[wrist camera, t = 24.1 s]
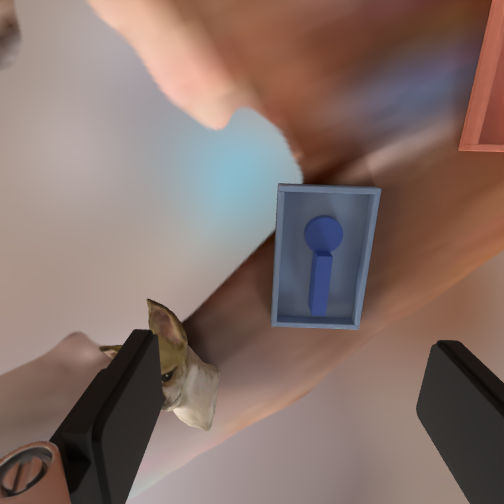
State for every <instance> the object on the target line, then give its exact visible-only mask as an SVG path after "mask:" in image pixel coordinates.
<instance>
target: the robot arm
mask: <svg viewBox="0 0 504 504" xmlns="http://www.w3.org/2000/svg"><path fill="white" fill-rule="evenodd" d="M162 404H163V388H162V376H161V364H160V352H159V340H158V335H157V334H153V331H152V330H141V329H135V330H133V332H132V333H131V334H130V336H129V337H128V339H127V340H126V341H125V343H124V344H123V346H122V347H121V348H120V350H119V351H118V353H117V354H116V356H115V357H114V358H113V360H112V361H111V363H110V364H109V366H108V367H107V368H106V369H102V370H101V371H100V372H99V373H98V374H97V375H96V377H95V378H94V379H93V381H92V382H91V384H90V385H89V386H88V388H87V389H86V390H85V392H84V393H83V395H82V396H81V397H80V399H79V400H78V402H77V403H76V404H75V406H74V407H73V408H72V410H71V411H70V413H69V414H68V415H67V417H66V418H65V419H64V421H63V422H62V424H61V425H60V426H59V428H58V429H57V430H56V432H55V433H54V435H53V436H52V437H51V439H50V440H49V441H48V442H47V441H38V442H31V443H29V444H26V445H23V446H20V447H19V448H17V449H15V450H13V451H11V452H10V453H8V454H7V455H5V456H4V457H3V458H2V459H0V504H125V502H126V500H127V498H128V495H129V492H130V490H131V487H132V484H133V482H134V479H135V477H136V474H137V471H138V469H139V466H140V463H141V461H142V458H143V456H144V453H145V450H146V448H147V445H148V442H149V440H150V437H151V434H152V432H153V429H154V427H155V424H156V421H157V419H158V416H159V413H160V411H161V408H162ZM416 411H417V415H418V417H419V419H420V421H421V423H422V425H423V426H424V428H425V430H426V431H427V433H428V435H429V436H430V438H431V440H432V441H433V443H434V445H435V446H436V448H437V450H438V451H439V453H440V455H441V456H442V458H443V460H444V461H445V463H446V465H447V466H448V468H449V470H450V471H451V473H452V475H453V476H454V478H455V480H456V481H457V483H458V485H459V486H460V488H461V490H462V491H463V493H464V495H465V496H466V498H467V500H468V501H469V503H470V504H504V383H503V382H502V381H501V380H500V379H499V378H498V377H497V376H496V375H495V374H494V373H493V372H492V371H490V370H489V369H488V368H487V367H486V366H485V365H484V364H483V363H482V362H481V361H480V360H479V359H478V358H477V357H476V356H475V355H473V354H472V353H471V352H470V351H469V350H468V349H467V348H466V347H465V346H464V345H463V344H462V343H461V342H459V341H453V340H439V341H437V343H436V344H434V345H432V347H431V350H430V354H429V358H428V362H427V366H426V370H425V374H424V378H423V382H422V386H421V390H420V394H419V398H418V402H417V406H416Z"/></svg>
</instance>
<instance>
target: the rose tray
mask: <svg viewBox="0 0 504 504" xmlns="http://www.w3.org/2000/svg"><path fill="white" fill-rule="evenodd" d="M458 151H488V152H504V0H492V5H491V9H490V13H489V18H488V22H487V26H486V31H485V35H484V39H483V44H482V48H481V53H480V57H479V61H478V66H477V70H476V74H475V79H474V83H473V87H472V92H471V96H470V100H469V105H468V109H467V113H466V118H465V122H464V127H463V131H462V135H461V140H460V144H459V148H458Z"/></svg>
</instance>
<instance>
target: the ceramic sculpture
mask: <svg viewBox="0 0 504 504" xmlns="http://www.w3.org/2000/svg"><path fill="white" fill-rule="evenodd" d="M147 304H148V307H149V321H148V322H149V328H150V330H152V331H153V334H157V335H158V340H159V352H160V364H161V376H162V388H163V404H162V408H161V411H163V410H165V411H171V410H173V411H174V412H175V414H176V415H177V416H178V418H179V419H180V420H182V421H183V422H185V423H186V424H188V425H189V426H194V427H197V428H201V429H203V430H204V431H209V430H210V428H211V426H212V421H213V417H214V414H215V407H216V400H217V393H216V392H217V386H218V381H219V376H220V370H219V368H218V367H217V366H215V365H211V364H206V363H204V362H202V361H201V359H200V358H199V357H198V356H197V355H196V354H195V353H194V352H193V350H192V349H191V348H190V346H189V345H188V340H187V336H186V332H185V330H184V329H183V326H182V324H181V322H180V321H179V320H178V318H177V316H176V315H175V314H174V313H173V312H172V311H170V310H169V309H168V308H167V307H165V306H164V305H162V304H160V303H157V302H155V301H153V300H151V299H147ZM122 346H123V345H114V346H101V347H100V348H99V350H100V351H101V352H102V353H104V354H106V355H107V356H108V357H109V358H110V359H111V360H113V358H114V357H115V356H116V354H117V353H118V351H119V350H120V348H121V347H122Z"/></svg>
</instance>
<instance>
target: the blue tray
mask: <svg viewBox="0 0 504 504" xmlns="http://www.w3.org/2000/svg"><path fill="white" fill-rule="evenodd" d="M380 194H381V188H378V187H375V186H346V185H314V184H282V183H279V184H278V194H277V213H276V230H275V249H274V267H273V285H272V304H271V326H277V327H304V328H332V329H359V325H360V318H361V312H362V306H363V300H364V293H365V287H366V281H367V275H368V269H369V262H370V256H371V250H372V244H373V237H374V231H375V225H376V219H377V212H378V206H379V200H380ZM321 215H327V216H330V217H332V218H334V219H335V220H336V221H337V222H338V223H339V224H340V225H341V227H342V229H343V239H342V242H341V244H340V245H339V246H338V247H337V248H336V249H335V250H334V251H332V252H330V253H331V255H332V256H333V260H332V268H331V277H330V285H329V293H328V302H327V310H326V316H312V315H311V312H310V309H309V306H308V298H309V288H310V278H311V267H312V257H313V250H311V249H310V248H309V247H308V245H307V243H306V241H305V239H304V230H305V227H306V225H307V223H308V222H309V221H310V220H311V219H313V218H314V217H317V216H321Z"/></svg>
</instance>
